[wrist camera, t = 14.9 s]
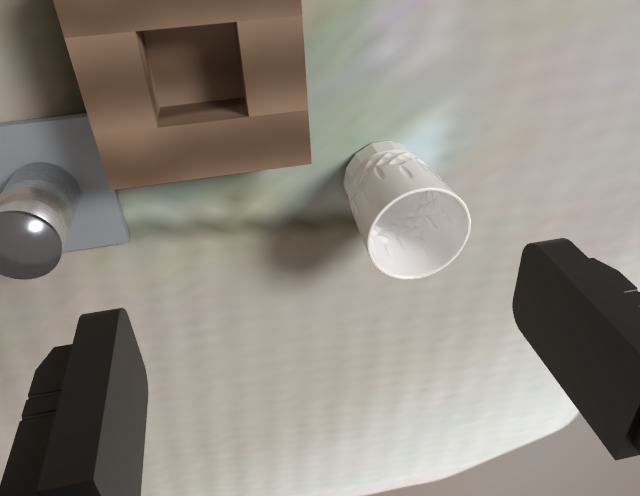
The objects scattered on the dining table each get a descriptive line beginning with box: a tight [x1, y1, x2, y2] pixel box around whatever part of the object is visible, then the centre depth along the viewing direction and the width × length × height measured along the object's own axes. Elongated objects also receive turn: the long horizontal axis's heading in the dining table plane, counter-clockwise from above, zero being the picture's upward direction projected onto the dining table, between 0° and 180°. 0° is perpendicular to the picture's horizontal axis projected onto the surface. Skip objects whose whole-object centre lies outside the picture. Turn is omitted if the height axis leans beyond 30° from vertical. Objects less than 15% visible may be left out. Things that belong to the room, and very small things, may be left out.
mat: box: [0, 113, 130, 252], centre depth 42 cm, size 11×10×1 cm
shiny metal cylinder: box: [0, 162, 81, 279], centre depth 39 cm, size 5×5×8 cm
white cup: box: [343, 141, 471, 280], centre depth 44 cm, size 8×8×10 cm
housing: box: [53, 0, 311, 190], centre depth 37 cm, size 14×14×6 cm
